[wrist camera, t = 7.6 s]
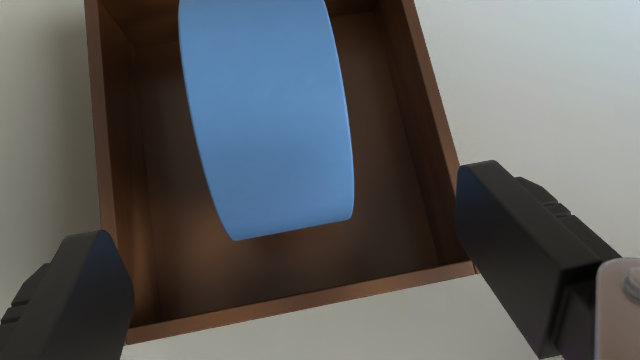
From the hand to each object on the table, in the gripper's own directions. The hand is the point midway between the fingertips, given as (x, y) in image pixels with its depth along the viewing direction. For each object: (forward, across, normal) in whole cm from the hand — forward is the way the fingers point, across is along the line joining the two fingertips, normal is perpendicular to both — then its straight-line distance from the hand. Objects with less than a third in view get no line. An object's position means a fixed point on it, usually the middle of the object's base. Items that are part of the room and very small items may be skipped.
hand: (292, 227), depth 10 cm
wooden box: (+13, 0, +5) cm, 14 cm away
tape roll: (+13, 0, +4) cm, 14 cm away
